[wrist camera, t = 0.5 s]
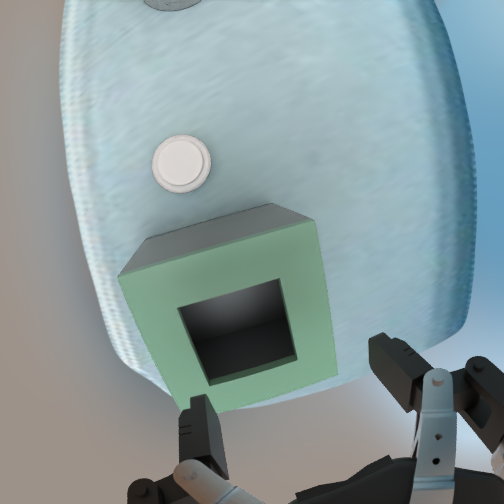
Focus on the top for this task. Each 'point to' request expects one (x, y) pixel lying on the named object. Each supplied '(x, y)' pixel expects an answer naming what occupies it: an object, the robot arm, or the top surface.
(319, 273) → the box
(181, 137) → the supplement bottle
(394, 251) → the top surface
